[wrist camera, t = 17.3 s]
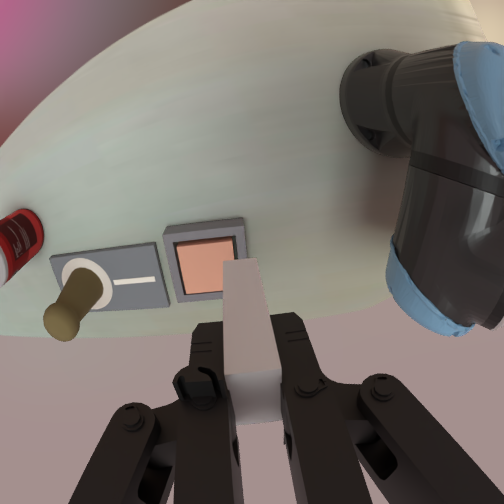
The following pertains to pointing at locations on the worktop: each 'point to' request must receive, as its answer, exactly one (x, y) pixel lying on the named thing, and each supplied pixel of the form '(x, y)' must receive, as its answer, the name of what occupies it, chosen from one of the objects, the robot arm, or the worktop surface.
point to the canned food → (18, 242)
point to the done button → (204, 263)
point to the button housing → (193, 233)
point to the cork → (73, 304)
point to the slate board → (119, 276)
